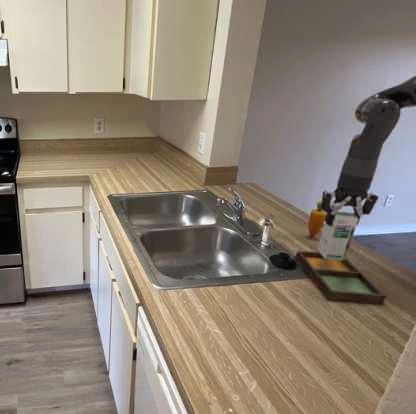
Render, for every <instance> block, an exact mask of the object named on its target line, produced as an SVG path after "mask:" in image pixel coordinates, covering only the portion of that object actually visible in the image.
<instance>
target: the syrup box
mask: <svg viewBox="0 0 416 414" xmlns="http://www.w3.org/2000/svg"><path fill="white" fill-rule="evenodd" d="M353 213H354V212H352V211H351V210H338V211H337V212H336V213H335V214H334V215H335V217H334V220H333V224H332V226H328V225H327V224H326V222H324V227H323V230H322V234H321V238H320V242H319V245H318V248H317V250H318V252H320V253H321V255H322V256H323V257H324V259H335V260H343V261H344V260H345V259H346V258H347V255H348V253H349V249H350V246H351V244H352V240H353V238H354V235H355V231H356V228H357V226H358V225H357V222H358V217H357V216H356V215H355V214H353Z"/></svg>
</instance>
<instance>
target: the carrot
mask: <svg viewBox="0 0 416 414" xmlns="http://www.w3.org/2000/svg"><path fill="white" fill-rule="evenodd" d="M321 204H322V200H319V201H318V202H317V203H316V206H317V207H316V208H314V209H313V208H312V210H311V211H310V213H309V214H310V215H309V218H308V233H309V237H310V238H311V239H312V238H315V237H317V235H318V233H320V231H321V229H322V228H323V225H324V224H325V218H326V214H327V213H326V212H325V211H323V210H322V209H321Z"/></svg>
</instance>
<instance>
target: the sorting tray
mask: <svg viewBox="0 0 416 414" xmlns="http://www.w3.org/2000/svg"><path fill="white" fill-rule="evenodd" d="M295 260H296V261H297V262H298V263H299V265H300V266H301V267H302V268H303V270H304V271H305V272H306V274H307V275H308V276H309V278H310V279H311V280H312V281H313V283H314V284H315V285H316V286H317V288H318V289H319V290H320V292H321V293H322V294H323V296H324V297H325V298H326V300H328V301H339V302H348V303H349V302H351V303H362V304H363V303H364V304H376V305H383V304H384V302H385V300H386V297H387V295H386V294H385V293H384V292H383V291H382V290H381V289H380V288H379V287H377V286H376V285H375V284H374V282H372V280H371V279H369V277H367V276H366V275H365V274H364V273H363V272H362V271H361V270H360V269H359V268H358V267H357V266H356V265H355V264H354V263H352V261H350V259H348V258H347V257H346V259H345V260H344V261H343V260H335V259H324V257H323V256H322V255H321V253H320V252H319V251H307V250H306V251H305V250H296V254H295Z"/></svg>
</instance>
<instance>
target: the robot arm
mask: <svg viewBox="0 0 416 414" xmlns="http://www.w3.org/2000/svg"><path fill="white" fill-rule="evenodd" d="M414 107H416V75H413V76H412V77H410V78H409V79H408V78H407V79H406V80H405V81H403V82H401V83H398V84H397V85H394V86H392V87H389V88H386V89H383V90H382V91H379V92H377V93H374V94H372V95H370V96H368V97H367V98H365V99H363V100H362V101H361V102H360V103H359V104H358V105H357V106H356V108H355V110H354V117H355V119H356V120H357V121H358V122H359V123H361V124H364V127H363V129H362V131H361V133H357V134H355V135H354V136H353V137H352V139H351V142H350V144H349V147H348V151H347V154H346V156H345V159H344V161H343V164H342V167H341V170H340V174H339V176H338V180H337V183H336V188H335V190H334V191H327V190H324V191H323V192H322V196H321V201H322V204H321V208H320V209H322V210H323V211H325V212H326V218H325V221H324V223H326V224H327V225H328V226H332V224H333V220H334V217H335V215H334V214H335V213H336V212H337V211H340V210H341V209H342V208H344V207H352V211H353V212H352V213H353V214H355V215H356V216H357V217H358V222H357V225H356V226H358V225H359V223H360V219H361V217H363V216H364V215H367V216H368V215H370V214H371V213H372V211H373V209H374V207H375V205H376V203H377V201H378V200H379V196H378V195H377V194H375V193H373V192H370V193H368V191H369V190H370V188H371V185H372V182H373V180H374V177H375V174H376V171H377V168H378V163H379V158H380V156H381V153H382V150H383V147H384V145H385V143H386V141H387V140H388V138H389V137H390V136H391V134H392V132H393V131H394V129H396V126H397V125H398V123H399V120H400V119H401V115H402V114H401V113H402V109H404V108H414ZM362 202H364V203H362Z"/></svg>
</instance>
